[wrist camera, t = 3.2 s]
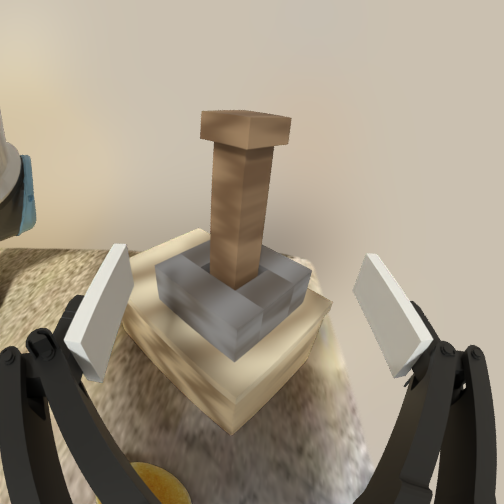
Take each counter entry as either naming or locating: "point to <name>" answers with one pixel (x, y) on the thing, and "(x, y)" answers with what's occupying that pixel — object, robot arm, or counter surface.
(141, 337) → the tan two-tone block
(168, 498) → the bread roll
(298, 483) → the counter surface
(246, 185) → the brown t-shaped block
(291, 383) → the counter surface
